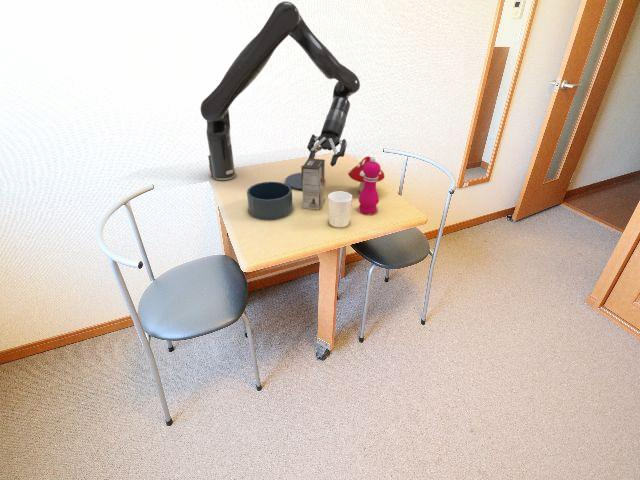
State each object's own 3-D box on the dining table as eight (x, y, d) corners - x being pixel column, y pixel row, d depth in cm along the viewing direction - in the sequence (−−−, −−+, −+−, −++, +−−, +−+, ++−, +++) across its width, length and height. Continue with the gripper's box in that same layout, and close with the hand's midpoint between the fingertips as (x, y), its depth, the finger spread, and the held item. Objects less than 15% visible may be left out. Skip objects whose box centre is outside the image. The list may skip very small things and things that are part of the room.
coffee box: (308, 197, 137) (307, 157, 129) (324, 199, 136) (325, 159, 128) (302, 208, 130) (301, 166, 121) (319, 210, 129) (320, 168, 120)
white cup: (343, 231, 117) (345, 203, 111) (323, 224, 120) (323, 197, 115) (354, 221, 122) (356, 194, 117) (334, 215, 126) (335, 189, 120)
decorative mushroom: (341, 195, 139) (343, 159, 131) (354, 183, 150) (356, 148, 142) (376, 203, 134) (380, 165, 126) (386, 189, 145) (390, 153, 137)
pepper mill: (356, 206, 132) (360, 153, 121) (375, 205, 132) (381, 153, 122) (359, 215, 126) (364, 161, 115) (379, 214, 126) (386, 161, 116)
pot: (254, 223, 120) (252, 203, 116) (245, 203, 133) (242, 185, 128) (298, 215, 125) (297, 196, 121) (284, 197, 138) (284, 179, 133)
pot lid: (292, 193, 140) (291, 176, 137) (280, 177, 153) (279, 162, 149) (330, 187, 146) (331, 170, 142) (316, 172, 159) (316, 157, 155)
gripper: (314, 116, 132) (300, 155, 129) (349, 121, 127) (336, 162, 125) (320, 127, 139) (307, 164, 136) (354, 132, 134) (341, 171, 131)
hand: (321, 163), depth 130 cm, fingers open, 8 cm apart
